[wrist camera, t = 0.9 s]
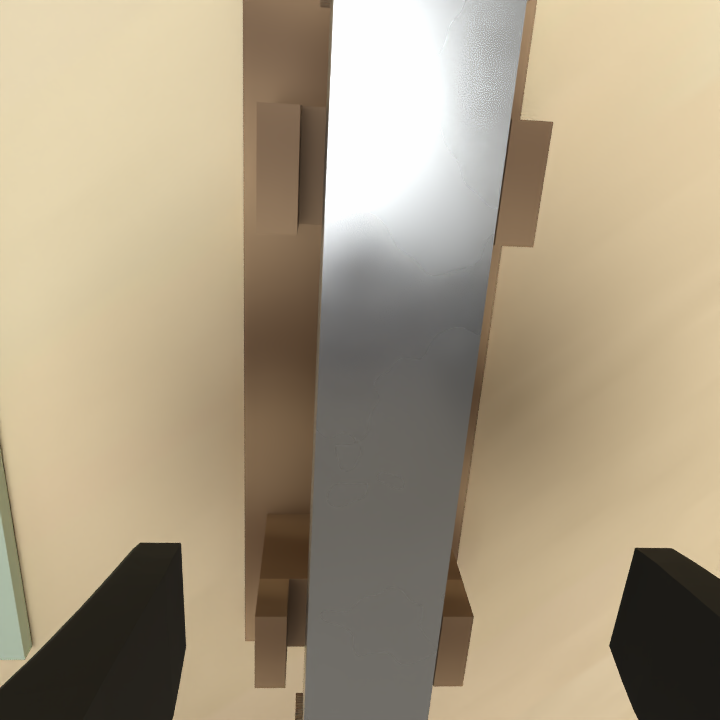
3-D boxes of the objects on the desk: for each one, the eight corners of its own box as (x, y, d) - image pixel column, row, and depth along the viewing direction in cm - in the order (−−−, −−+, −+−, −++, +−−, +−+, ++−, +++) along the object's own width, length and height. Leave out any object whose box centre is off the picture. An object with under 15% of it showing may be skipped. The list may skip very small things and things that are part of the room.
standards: (441, 623, 23) (474, 758, 18) (247, 623, 23) (229, 762, 18) (527, 2, 16) (619, -46, 11) (246, -21, 15) (214, -83, 11)
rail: (407, 706, 19) (425, 822, 16) (295, 707, 19) (291, 826, 16) (495, -14, 12) (556, -56, 9) (321, -28, 12) (323, -79, 9)
